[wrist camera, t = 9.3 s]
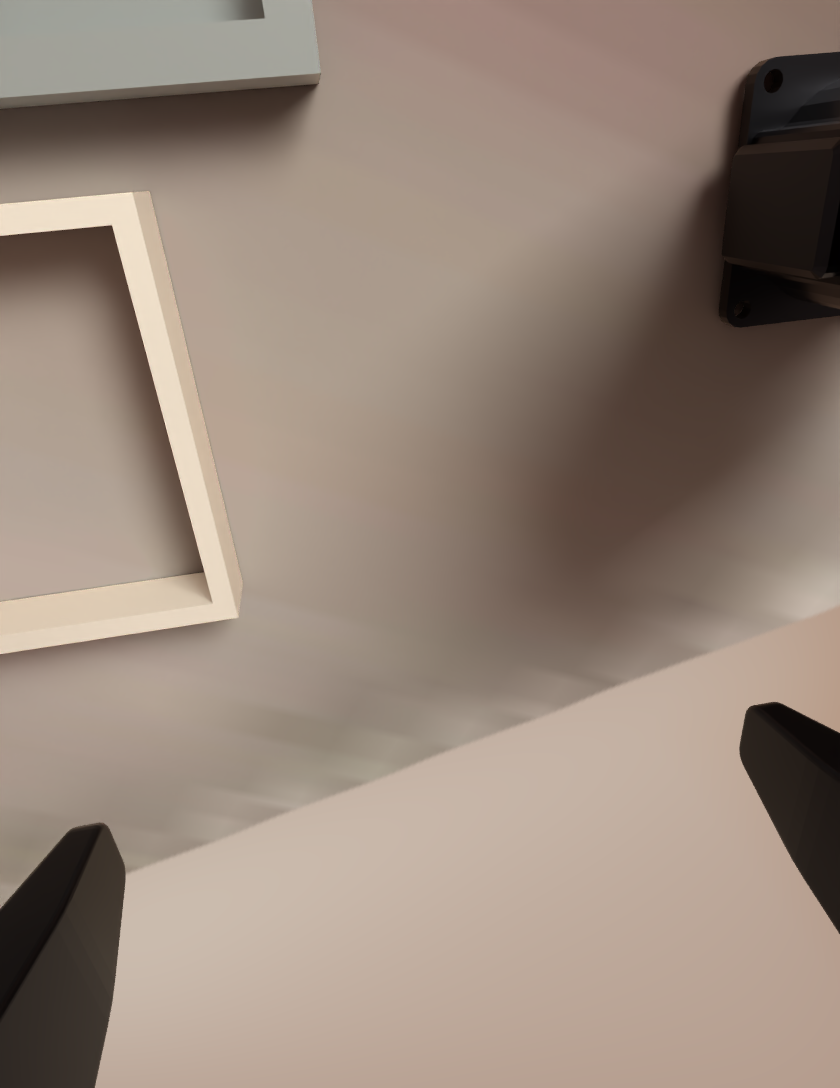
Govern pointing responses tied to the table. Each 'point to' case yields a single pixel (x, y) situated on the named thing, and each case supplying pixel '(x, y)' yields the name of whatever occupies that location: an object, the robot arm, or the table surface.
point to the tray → (151, 48)
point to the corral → (183, 417)
